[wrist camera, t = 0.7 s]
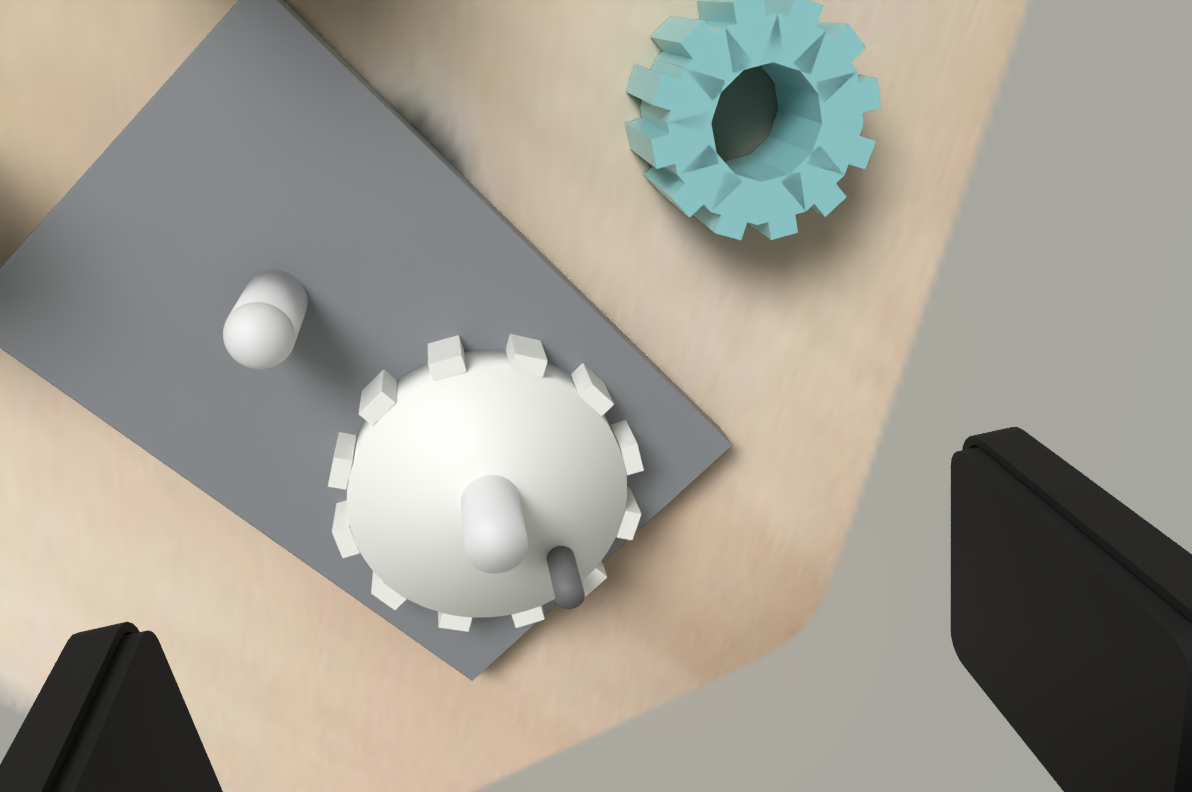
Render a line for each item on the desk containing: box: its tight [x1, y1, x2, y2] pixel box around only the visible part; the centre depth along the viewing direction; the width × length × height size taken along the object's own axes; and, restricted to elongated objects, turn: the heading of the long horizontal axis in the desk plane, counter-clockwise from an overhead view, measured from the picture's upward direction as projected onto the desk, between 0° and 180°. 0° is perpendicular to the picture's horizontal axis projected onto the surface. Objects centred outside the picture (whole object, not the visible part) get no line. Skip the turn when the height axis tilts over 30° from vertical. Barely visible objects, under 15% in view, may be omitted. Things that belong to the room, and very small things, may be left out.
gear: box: [625, 0, 881, 240], centre depth 31 cm, size 7×7×4 cm
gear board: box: [0, 0, 732, 680], centre depth 31 cm, size 14×22×6 cm, turn 43°
